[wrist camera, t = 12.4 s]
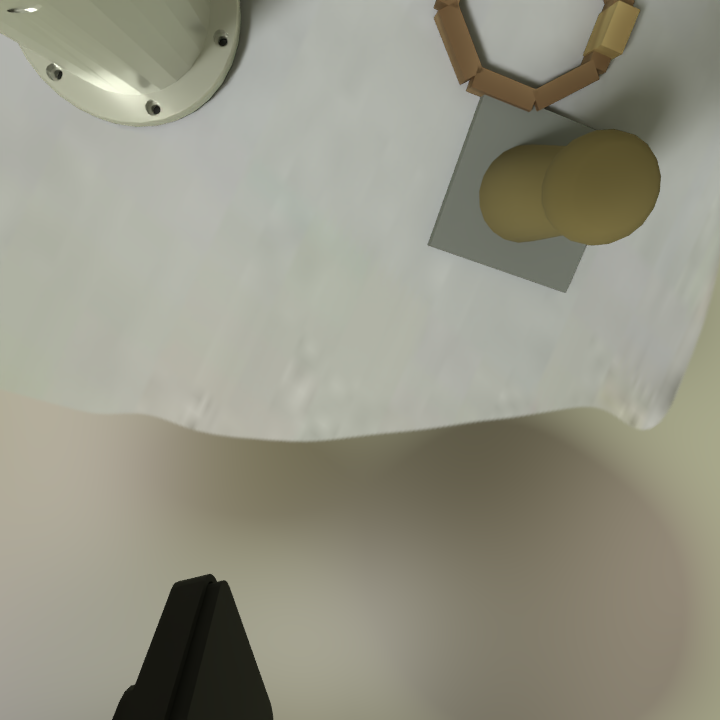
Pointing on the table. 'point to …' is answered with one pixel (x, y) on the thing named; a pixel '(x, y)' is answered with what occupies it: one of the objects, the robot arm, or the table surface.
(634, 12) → the collar
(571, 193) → the cork
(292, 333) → the table surface
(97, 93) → the robot arm
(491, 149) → the pad
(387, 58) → the table surface
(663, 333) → the table surface
